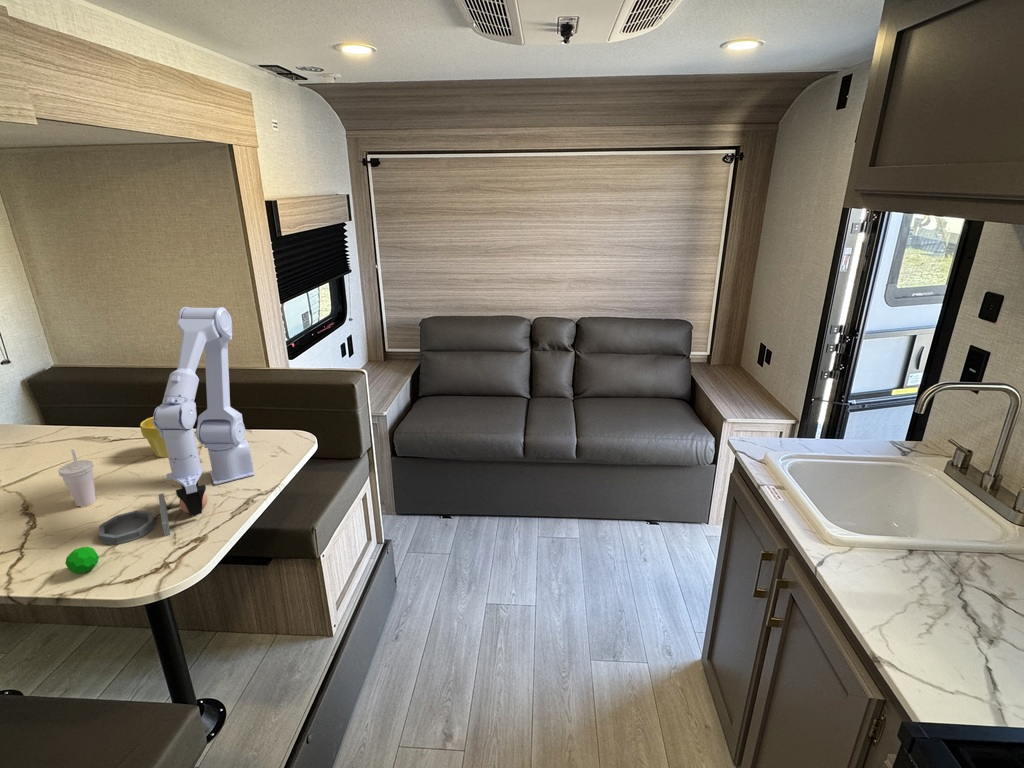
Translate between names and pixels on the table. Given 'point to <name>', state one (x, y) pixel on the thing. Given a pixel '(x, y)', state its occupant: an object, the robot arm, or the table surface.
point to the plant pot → (153, 437)
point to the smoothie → (79, 480)
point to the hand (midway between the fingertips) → (194, 506)
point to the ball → (186, 507)
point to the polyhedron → (82, 560)
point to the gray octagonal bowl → (126, 527)
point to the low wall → (164, 515)
